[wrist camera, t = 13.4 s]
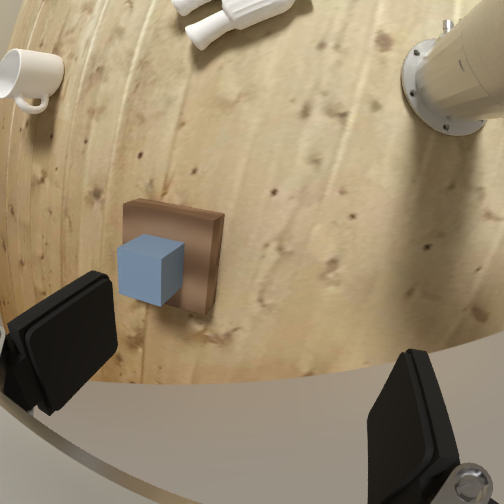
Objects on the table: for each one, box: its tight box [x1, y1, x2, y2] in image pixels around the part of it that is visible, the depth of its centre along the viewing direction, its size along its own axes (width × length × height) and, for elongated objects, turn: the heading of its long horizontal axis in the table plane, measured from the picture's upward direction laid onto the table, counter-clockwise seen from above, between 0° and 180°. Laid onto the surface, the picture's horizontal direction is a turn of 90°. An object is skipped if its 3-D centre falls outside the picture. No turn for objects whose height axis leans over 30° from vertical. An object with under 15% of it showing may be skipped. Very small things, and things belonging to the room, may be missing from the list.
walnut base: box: [123, 198, 224, 315], centre depth 42 cm, size 13×13×4 cm
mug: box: [0, 49, 64, 114], centre depth 35 cm, size 12×8×10 cm
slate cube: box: [117, 234, 185, 307], centre depth 37 cm, size 6×6×6 cm
